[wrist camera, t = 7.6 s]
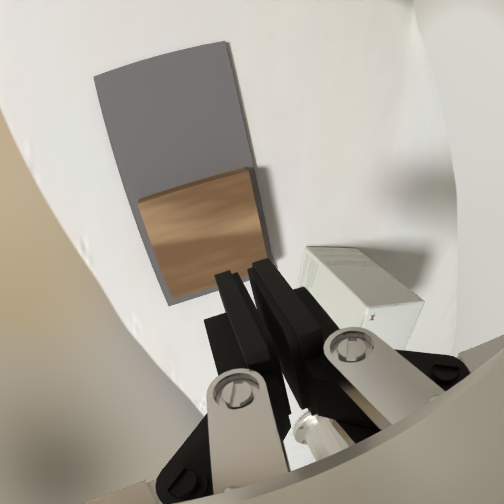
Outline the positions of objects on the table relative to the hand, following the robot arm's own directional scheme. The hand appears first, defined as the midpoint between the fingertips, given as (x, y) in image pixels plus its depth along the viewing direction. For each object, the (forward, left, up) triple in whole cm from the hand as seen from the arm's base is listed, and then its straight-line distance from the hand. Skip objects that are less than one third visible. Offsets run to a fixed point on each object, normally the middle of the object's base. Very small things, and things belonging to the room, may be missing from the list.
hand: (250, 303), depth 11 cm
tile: (0, 0, -19) cm, 19 cm away
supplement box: (-15, -12, -21) cm, 28 cm away
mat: (0, 0, -21) cm, 21 cm away
